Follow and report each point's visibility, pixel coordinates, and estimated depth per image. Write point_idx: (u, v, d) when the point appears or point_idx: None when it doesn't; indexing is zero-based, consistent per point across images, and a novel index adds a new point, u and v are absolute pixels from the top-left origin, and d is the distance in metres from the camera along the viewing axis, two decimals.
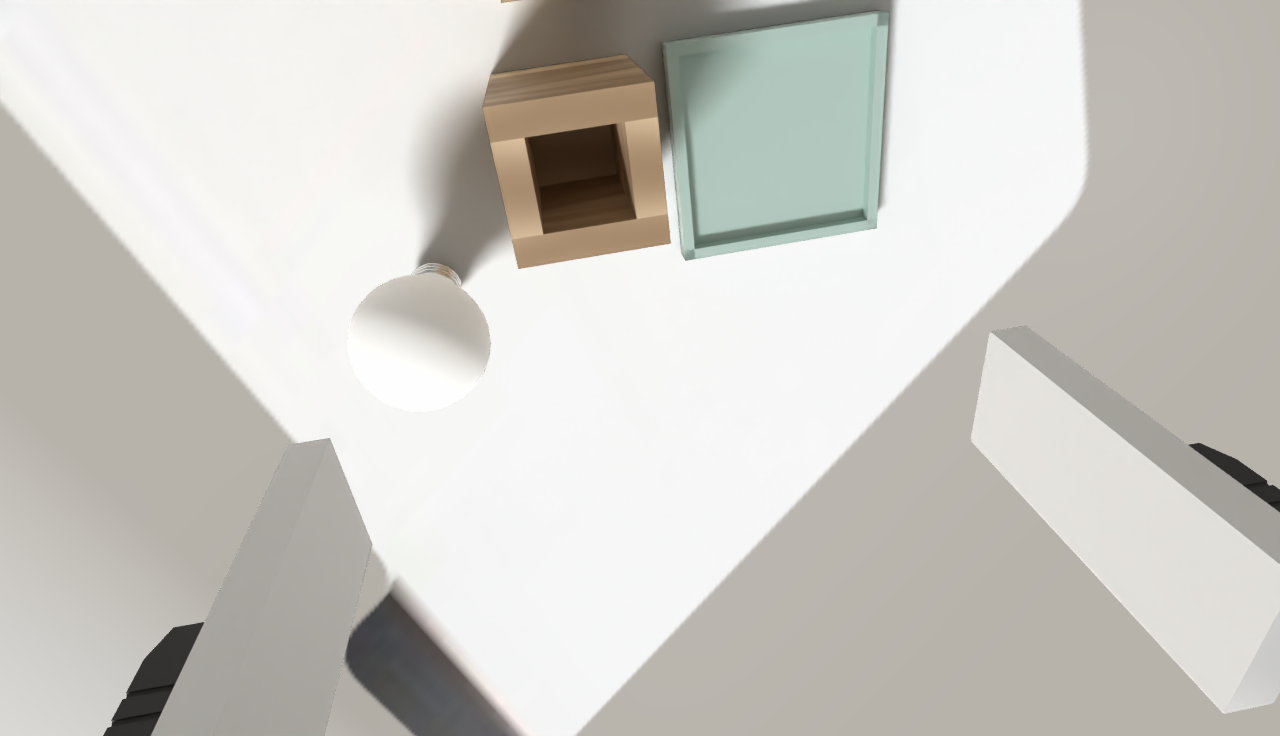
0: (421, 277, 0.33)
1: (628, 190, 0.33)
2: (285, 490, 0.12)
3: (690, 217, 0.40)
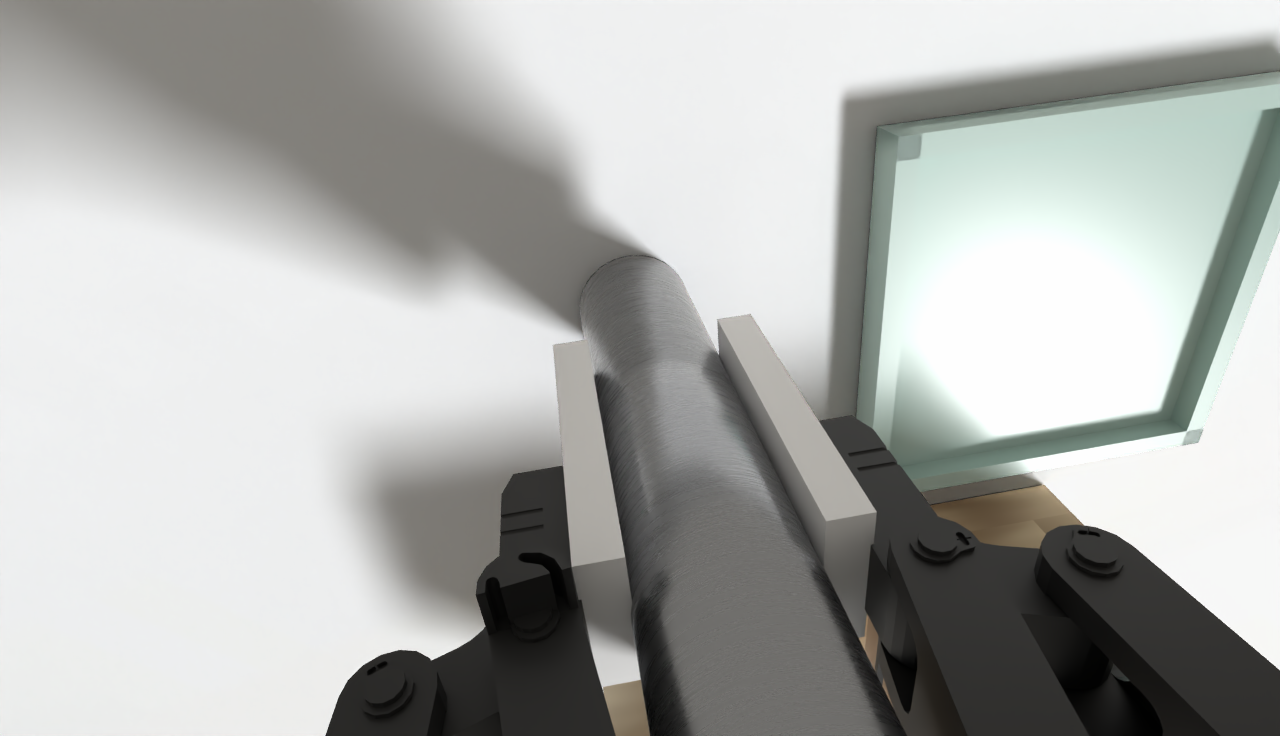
0: None
1: None
2: (571, 375, 0.14)
3: (1131, 443, 0.23)
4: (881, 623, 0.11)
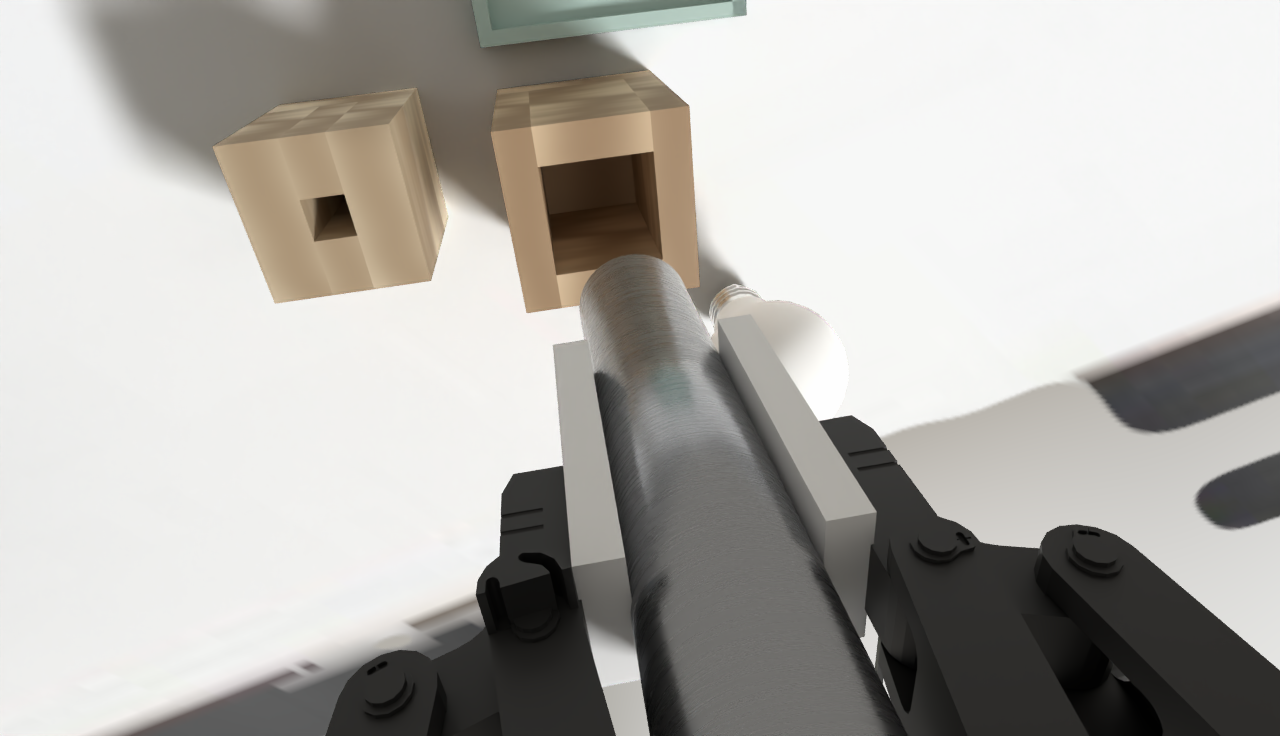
0: None
1: None
2: (572, 374, 0.14)
3: (688, 9, 0.31)
4: (881, 623, 0.11)
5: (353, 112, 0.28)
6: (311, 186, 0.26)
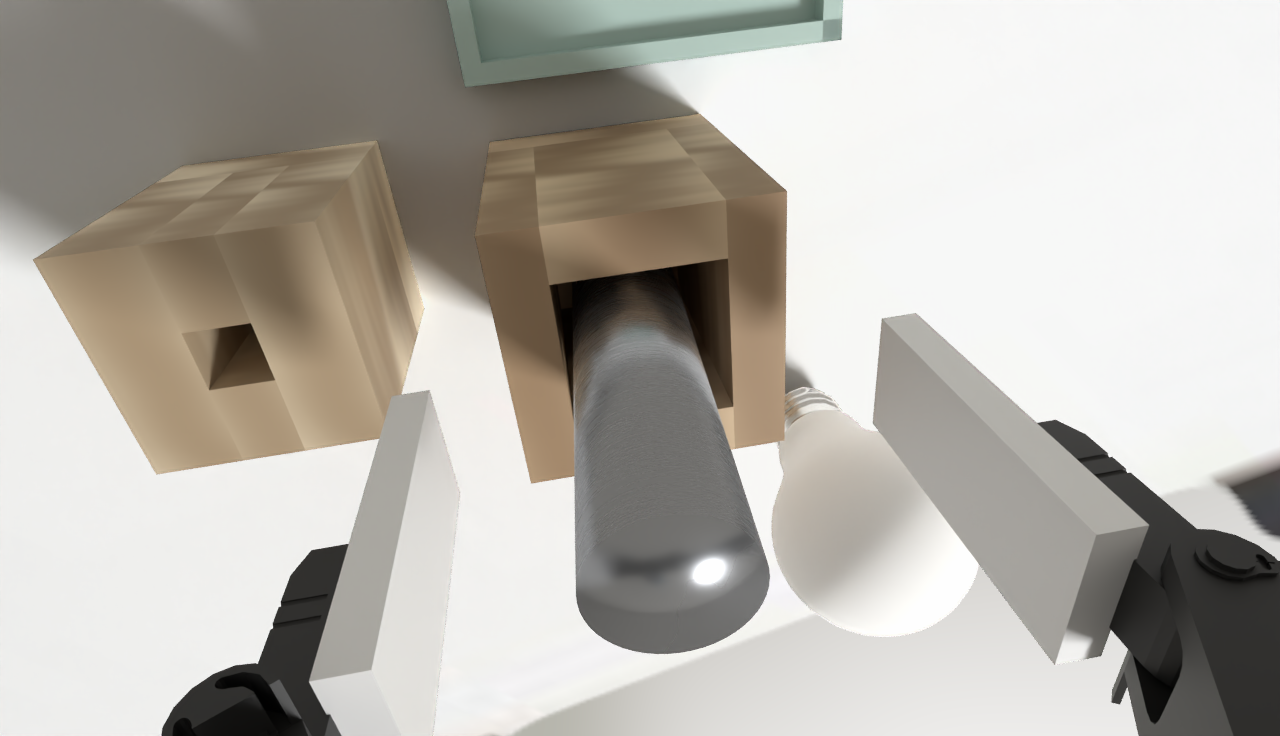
0: (776, 518, 0.24)
1: None
2: (398, 432, 0.13)
3: (761, 31, 0.21)
4: (1136, 631, 0.10)
5: (273, 189, 0.19)
6: (198, 313, 0.17)
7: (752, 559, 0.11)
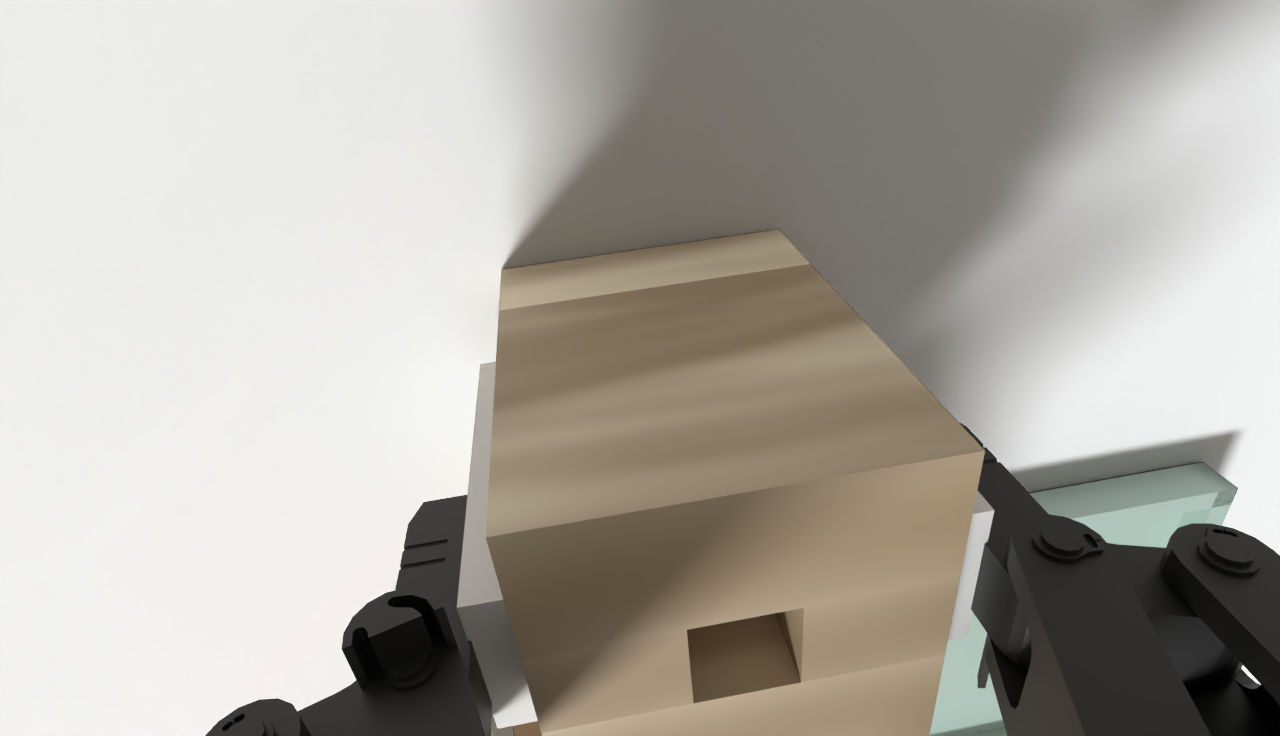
0: None
1: None
2: None
3: None
4: (992, 619, 0.11)
5: None
6: (832, 629, 0.10)
7: None
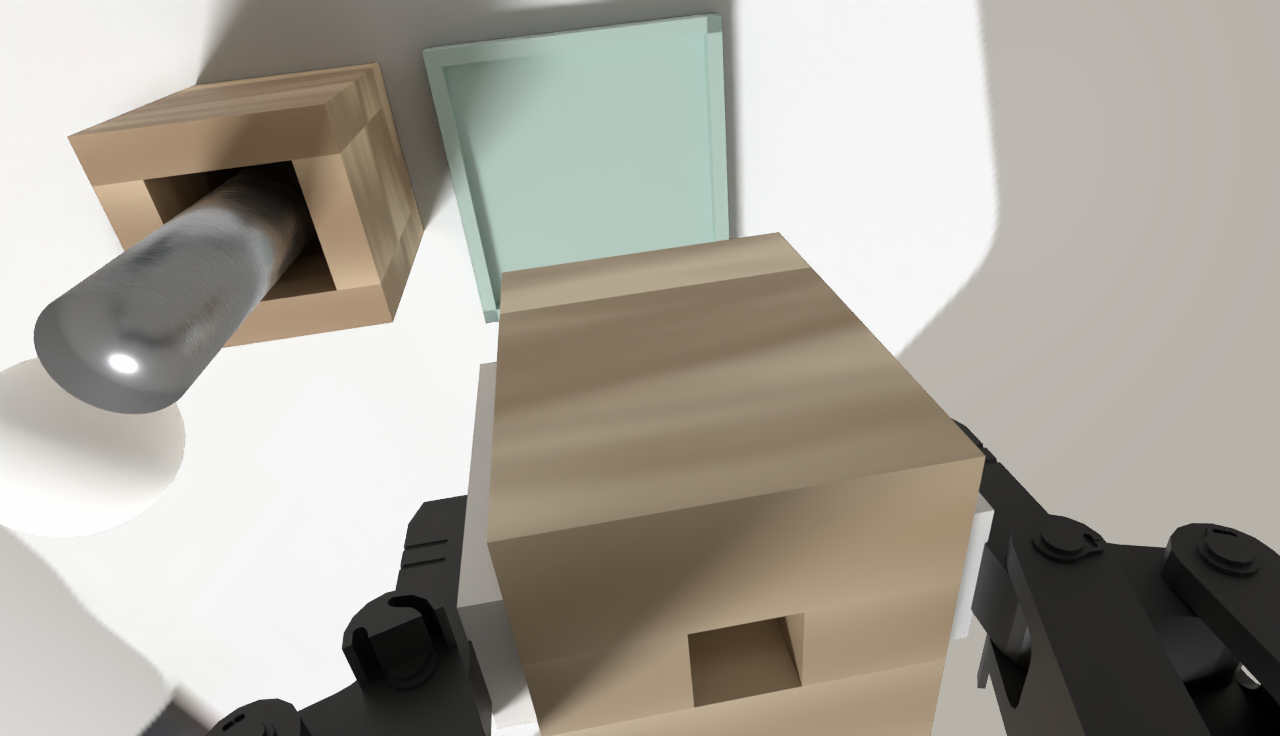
0: None
1: None
2: (493, 396, 0.14)
3: (485, 270, 0.32)
4: (992, 619, 0.11)
5: None
6: (832, 634, 0.10)
7: (158, 401, 0.16)
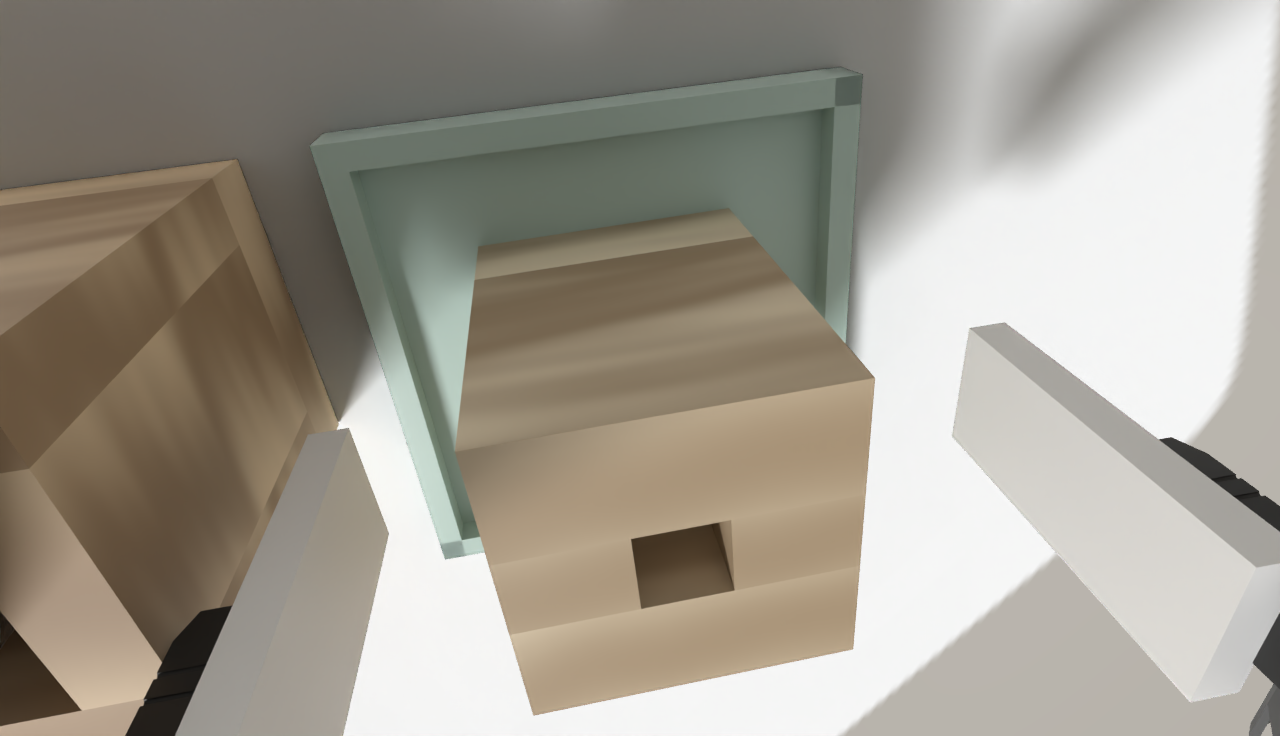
0: None
1: None
2: (307, 478, 0.12)
3: (442, 487, 0.19)
4: None
5: None
6: (758, 541, 0.11)
7: None
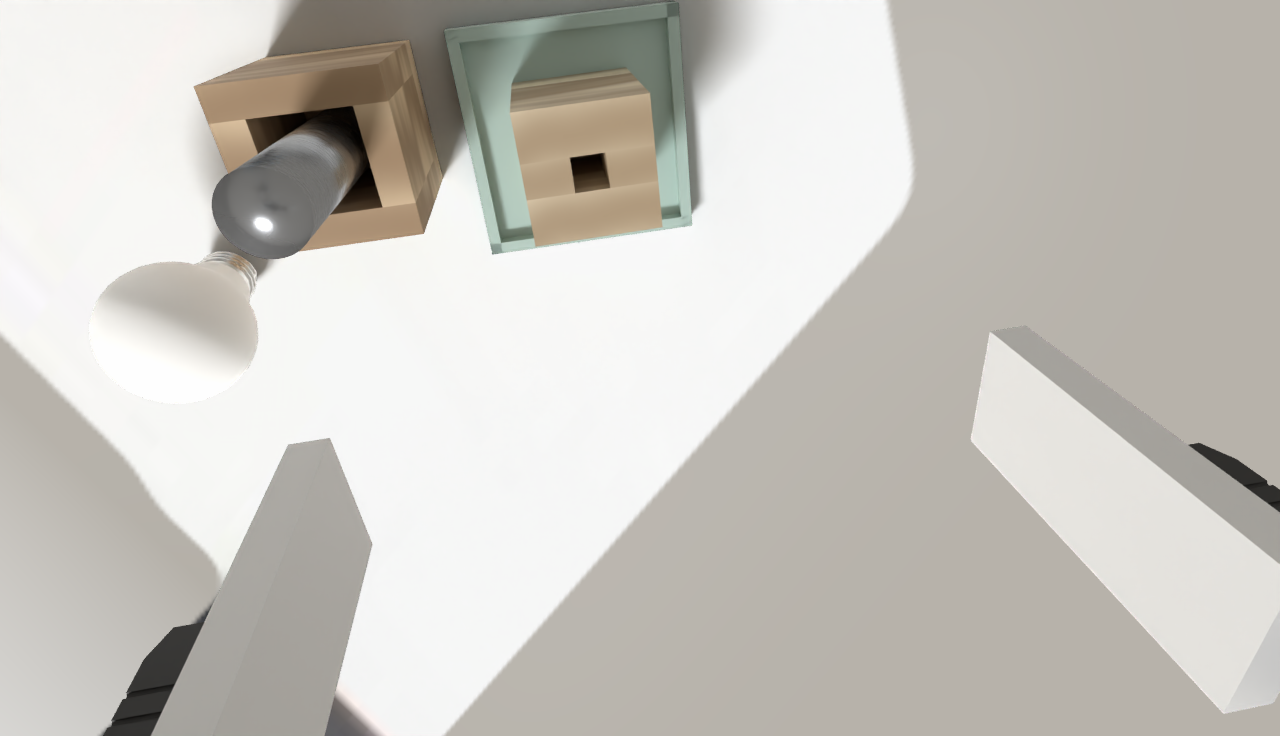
0: (171, 264, 0.32)
1: None
2: (285, 490, 0.12)
3: (492, 210, 0.39)
4: None
5: None
6: (616, 163, 0.32)
7: (288, 249, 0.23)
